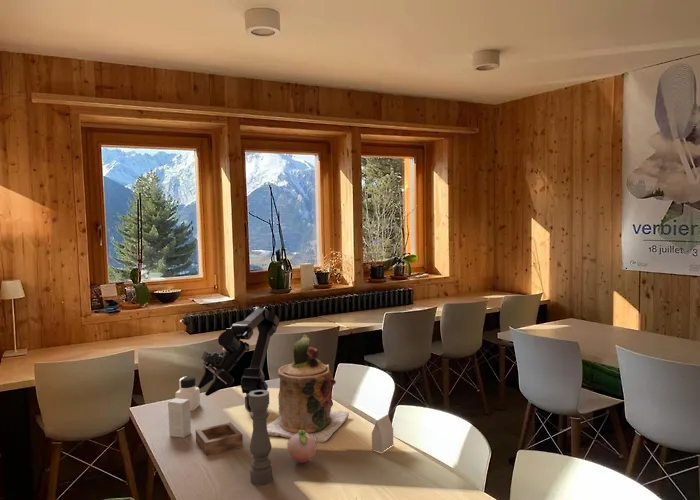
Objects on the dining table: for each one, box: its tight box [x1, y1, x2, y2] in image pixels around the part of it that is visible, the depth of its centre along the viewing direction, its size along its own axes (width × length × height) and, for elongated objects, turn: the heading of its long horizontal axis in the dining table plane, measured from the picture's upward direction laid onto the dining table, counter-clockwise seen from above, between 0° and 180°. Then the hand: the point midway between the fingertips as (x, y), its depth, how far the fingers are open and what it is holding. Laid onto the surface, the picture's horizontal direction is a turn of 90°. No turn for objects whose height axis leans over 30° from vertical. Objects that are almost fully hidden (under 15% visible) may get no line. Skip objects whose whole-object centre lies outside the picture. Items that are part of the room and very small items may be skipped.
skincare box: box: [167, 397, 192, 439], centre depth 185 cm, size 6×4×12 cm
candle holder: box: [249, 389, 274, 486], centre depth 152 cm, size 6×6×25 cm
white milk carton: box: [371, 414, 394, 452], centre depth 171 cm, size 4×7×10 cm, turn 144°
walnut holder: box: [195, 422, 244, 456], centre depth 177 cm, size 12×12×4 cm
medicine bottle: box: [174, 375, 201, 412], centre depth 211 cm, size 7×7×12 cm
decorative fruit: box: [286, 430, 317, 464], centre depth 162 cm, size 9×8×10 cm
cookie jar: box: [267, 334, 350, 443], centre depth 190 cm, size 25×25×32 cm
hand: (202, 391), depth 189 cm, fingers open, 9 cm apart
